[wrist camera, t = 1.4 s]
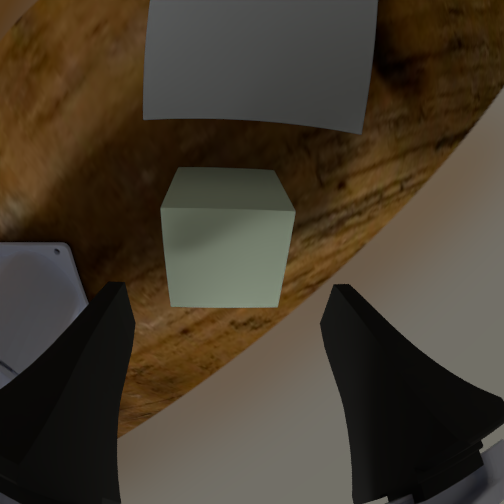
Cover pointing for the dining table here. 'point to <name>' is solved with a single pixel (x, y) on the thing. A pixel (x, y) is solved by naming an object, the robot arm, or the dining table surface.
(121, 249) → the dining table surface
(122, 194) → the dining table surface
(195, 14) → the gray plinth
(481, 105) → the dining table surface
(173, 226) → the green cube
